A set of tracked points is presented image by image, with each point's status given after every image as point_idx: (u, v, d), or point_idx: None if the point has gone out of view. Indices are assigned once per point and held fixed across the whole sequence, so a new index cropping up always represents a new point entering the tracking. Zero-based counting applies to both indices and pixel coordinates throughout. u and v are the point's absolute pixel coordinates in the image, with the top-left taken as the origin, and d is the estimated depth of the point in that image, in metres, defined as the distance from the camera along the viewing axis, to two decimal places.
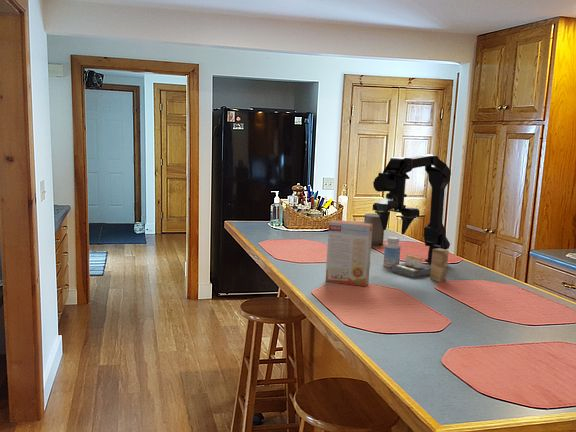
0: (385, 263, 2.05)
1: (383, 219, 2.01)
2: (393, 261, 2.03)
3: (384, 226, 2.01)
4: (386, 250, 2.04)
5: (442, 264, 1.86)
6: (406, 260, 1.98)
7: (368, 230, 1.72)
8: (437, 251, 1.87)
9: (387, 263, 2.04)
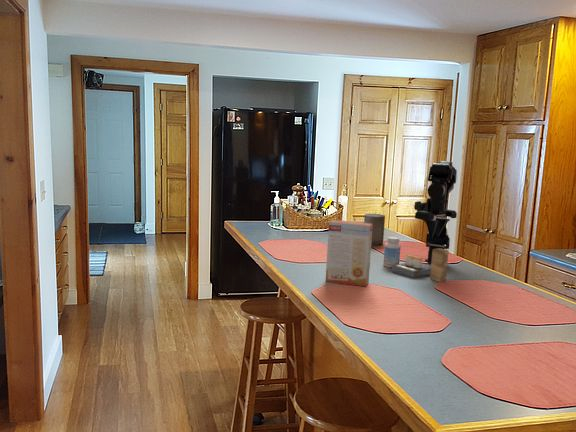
0: (385, 263, 2.05)
1: (436, 225, 2.03)
2: (393, 261, 2.03)
3: (436, 232, 2.03)
4: (386, 250, 2.04)
5: (442, 264, 1.86)
6: (406, 260, 1.98)
7: (368, 230, 1.72)
8: (437, 251, 1.87)
9: (387, 263, 2.04)
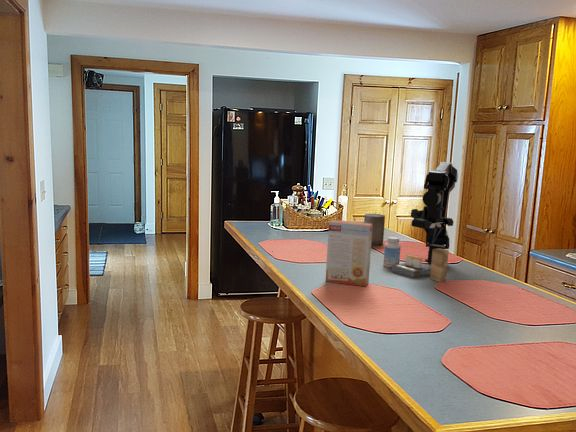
0: (385, 263, 2.05)
1: None
2: (393, 261, 2.03)
3: None
4: (386, 250, 2.04)
5: (442, 264, 1.86)
6: (406, 260, 1.98)
7: (368, 230, 1.72)
8: (437, 251, 1.87)
9: (387, 263, 2.04)
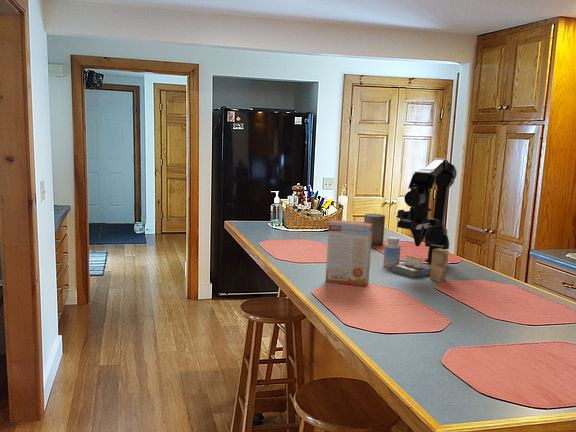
0: (385, 263, 2.05)
1: None
2: (393, 261, 2.03)
3: None
4: (386, 250, 2.04)
5: (442, 264, 1.86)
6: (406, 260, 1.98)
7: (368, 230, 1.72)
8: (437, 251, 1.87)
9: (387, 263, 2.04)
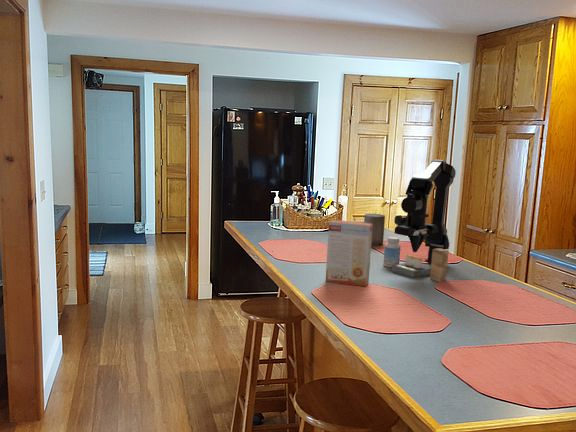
0: (385, 263, 2.05)
1: None
2: (393, 261, 2.03)
3: None
4: (386, 250, 2.04)
5: (442, 264, 1.86)
6: (406, 260, 1.98)
7: (368, 230, 1.72)
8: (437, 251, 1.87)
9: (387, 263, 2.04)
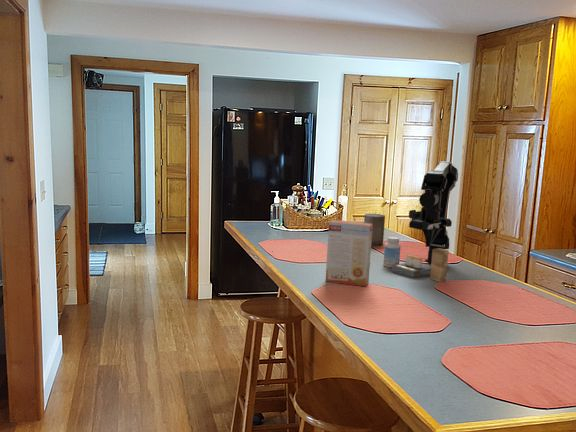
0: (385, 263, 2.05)
1: None
2: (393, 261, 2.03)
3: None
4: (386, 250, 2.04)
5: (442, 264, 1.86)
6: (406, 260, 1.98)
7: (368, 230, 1.72)
8: (437, 251, 1.87)
9: (387, 263, 2.04)
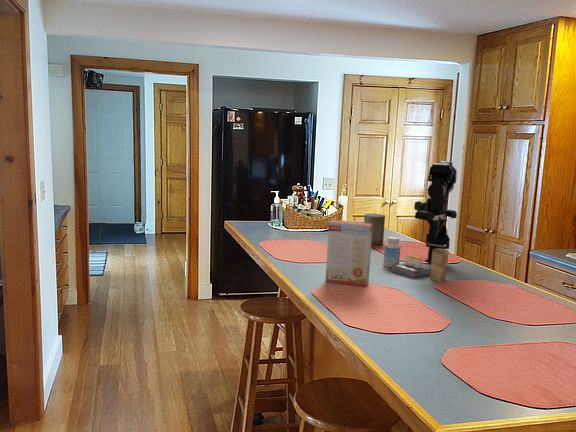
0: (385, 263, 2.05)
1: None
2: (393, 261, 2.03)
3: None
4: (386, 250, 2.04)
5: (442, 264, 1.86)
6: (406, 260, 1.98)
7: (368, 230, 1.72)
8: (437, 251, 1.87)
9: (387, 263, 2.04)
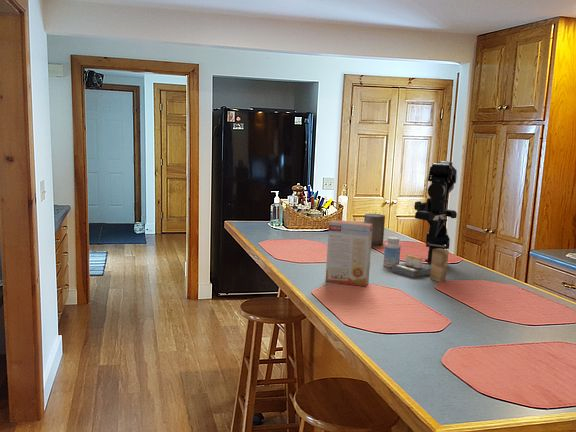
0: (385, 263, 2.05)
1: None
2: (393, 261, 2.03)
3: None
4: (386, 250, 2.04)
5: (442, 264, 1.86)
6: (406, 260, 1.98)
7: (368, 230, 1.72)
8: (437, 251, 1.87)
9: (387, 263, 2.04)
